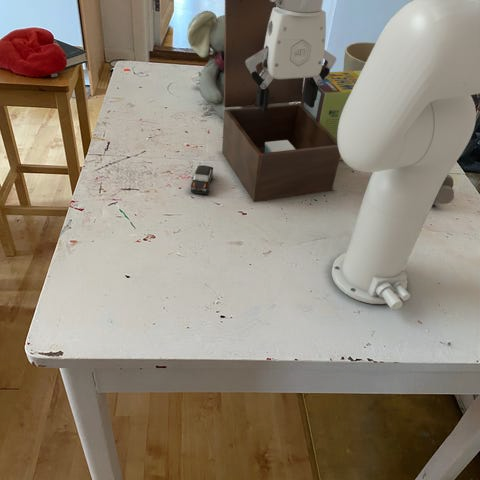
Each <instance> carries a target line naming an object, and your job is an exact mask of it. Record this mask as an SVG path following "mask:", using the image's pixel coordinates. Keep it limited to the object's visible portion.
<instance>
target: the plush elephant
mask: <svg viewBox="0 0 480 480" xmlns="http://www.w3.org/2000/svg"><path fill="white" fill-rule="evenodd" d="M186 39H187V41H188V44H189V46H190V48H191V49H192V50H193V52H195V53H196V54H197V55H198V56H199V57H200V58H208V57H210V58H209V59H208V61H207V63H206V64H205V65H204V66H203V68H202V69H201V71H197V74H198V78H197V79H195V82H198V83H196V84H195V85H196V89H197V90H199V91H200V95H201V97H202V98H203V99H204V100H205V101H206V103H207V104H208V105H209V106H210V107H211V109H212V110H213V111H214V112H215V114H217V115H218V116H219V117H220V118H221V119H222V120H224V109H236V108H246V106H238V107H224V41H225V14H223V15H219V16H218V17H217V15H216V13H214V12H213V11H210V10H203V11H200V12H199V13H197V14H196V15H195V16H194V17H193V18H192V19H191V21H190V22H189V24H188V27H187V34H186ZM211 50H212V51H213V53H212V56H210V55H211ZM286 104H290V102H289V103H276V104H268V106H274V105H286ZM253 107H259V106H258V105H253Z"/></svg>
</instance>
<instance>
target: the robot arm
mask: <svg viewBox="0 0 480 480" xmlns="http://www.w3.org/2000/svg"><path fill="white" fill-rule="evenodd" d="M270 2H275V4H276V7H274V8H273V9H272V13H271V16H270V20H269V24H268V28H267V33H266V38H265V44H264V49H262V50H261V51H259V52H258V53H256V54H254V55H253V56H251V57H250V58H248V59H247V60H246V61H245V64H246V66H247V69H248V71H249V75H250V76H251V77H252V79H253V80H254V81H255V82H256V83H257V84H258V87H257V98H256V102H257V105H258V106H259V108H260V109H261V110H262V111H263V112H265V111H267V108H268V99H269V89H268V88H267V86H268V85H269V84H270V82H271V81H272V80H273V79H274V78H275V79H295V78H304V79H305V78H309V77H310V80H308V81H307V83H306V90H305V96H304V102H305V103H306V104H307V105H308V106H309V107H310V108H313V107H314V104H315V101H316V99H317V93H318V87H319V85H321V84H322V80H323V79H324V78H325V77H326V76H327V75H328V74H329V73H330V72H331V69H332V68H333V67H334V65H335V64H336V62H337V57H336V56H334V55H333V54H332V53H330V52H329V51H327V50H326V49H325V47H326V37H327V12H326V11H325V10H323V9H322V8H323V2H324V0H270ZM375 43H376V44H375V46H374V48H373V50H372V52H371V54H370V56H369V58H368V60H367V62H366V63H365V65H364V67H363V69H362V71H361V73H360V75H359V77H358V79H357V81H356V83H355V85H354V87H353V89H352V91H351V93H350V95H349V97H348V99H347V101H346V104H345V106H344V108H343V111H342V114H341V117H340V120H339V124H338V131H337V143H338V149H339V153H340V155H341V157H342V159H343V160H342V161H343V162H344V163H345V164H346V165H347V166H348V167H349V168H351V169H353V170H354V171H357V172H361V173H371V175H370V178H369V180H368V182H367V186H366V189H365V191H364V195H363V199H362V201H361V205H360V208H359V211H358V213H357V214H358V215H357V218H356V220H355V224H354V227H353V230H352V234H351V236H350V239H349V243H348V245H347V249H346V252H344V253H342V254H340V255H338V256H337V257H336V259H334V262H333V264H332V268H331V277H332V280H333V282H334V284H335V285H336V287H337V288H338V289H339V290H340V291H341V292H342V293H344V294H345V295H346V296H348V297H350V298H351V299H354V300H357V301H359V302H363V303H366V304H371V305H384V304H387V306H388V307H389V308H390V310H392V311H397V310H399V309H401V307H402V306H403V302H405V301H407V300H409V299H410V297H411V293H409V292H408V290H407V287H408V277H407V276H408V275H407V273H406V272H405V268H406V265H407V263H408V261H409V258H410V256H411V254H412V252H413V249H414V247H415V245H416V242H417V240H418V238H419V236H420V233H421V231H422V229H423V227H424V224H425V222H426V220H427V218H428V215H429V213H430V212H431V209H432V208H433V207H432V205H433V204H434V202H435V201H436V200H435V198H436V196H437V194H438V192H439V190H440V188H441V186H442V184H443V182H444V180H445V178H446V177H447V175H449V173H450V172H451V170H452V169H453V168H454V166H455V164H456V163H457V161H458V160H459V158H460V157H461V156H462V154H463V153H464V151H465V149H467V146H468V144H469V143H470V140H471V139H472V136H473V134H474V130H475V127H476V122H477V110H476V109H477V108H476V104H475V101H474V99H473V96H474V95H479V94H480V0H411V1H410V2H408V3H406V4H405V5H404V6H402V7H401V8H400V9H399V10H398V11H397V12H396V13H395V14H393V16H392V17H391V18H390V20H389V21H388V22H387V24H386V25H385V26H384V28H383V30H382V31H381V33H380V34H379V36H378V38H377V39H376V42H375ZM262 61H263V62H262ZM261 62H262V65H263V70H262V71H261V73H260V74H258V72H257V69H256V66H257V65H258V64H259V63H261ZM258 106H257V107H258Z"/></svg>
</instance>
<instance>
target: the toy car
mask: <svg viewBox="0 0 480 480" xmlns="http://www.w3.org/2000/svg"><path fill="white" fill-rule="evenodd" d="M207 134H208V135H207V138H210V137H209V134H210V129H208V130H207ZM206 148H207V149H208V148H209V146H207V147H206ZM206 155H208V152H206ZM191 179H192V180H191V184H190V192H191V193H195V194H200V195H201V194H202V195H208V194H209V191H210V190H209V189H210V186H211V185H210V184H211V181H213V179H214V167H213V166H209V165H198V166H196V170H195V171H194V175H193V177H192V176H191Z"/></svg>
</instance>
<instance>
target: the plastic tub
mask: <svg viewBox="0 0 480 480" xmlns="http://www.w3.org/2000/svg"><path fill="white" fill-rule="evenodd" d="M286 150H295V148H294V147H293V146H292V145H291V143H290V142H289V141H288V140H282V141H272V142H265V151H264V153H268V152H277V151H286Z"/></svg>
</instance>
